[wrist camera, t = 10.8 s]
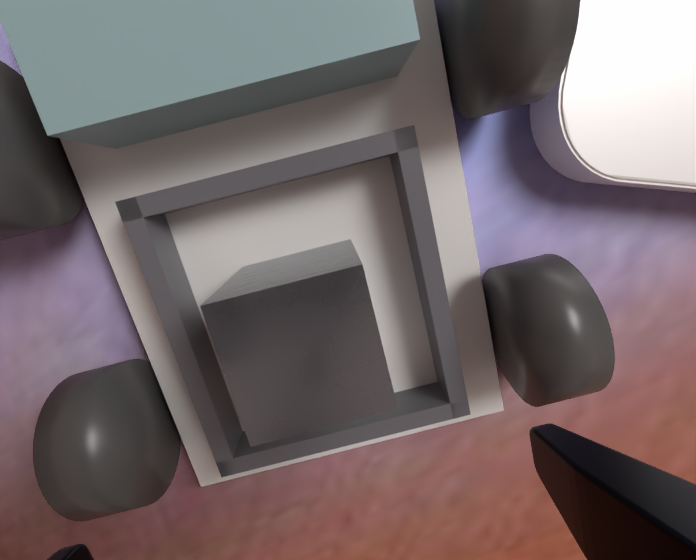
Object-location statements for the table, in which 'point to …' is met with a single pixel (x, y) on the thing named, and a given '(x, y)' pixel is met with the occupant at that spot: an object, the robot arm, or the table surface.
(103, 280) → the table surface
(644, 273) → the table surface
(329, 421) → the dark grey cube
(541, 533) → the table surface
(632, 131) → the computer
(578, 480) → the robot arm
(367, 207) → the toy car chassis
